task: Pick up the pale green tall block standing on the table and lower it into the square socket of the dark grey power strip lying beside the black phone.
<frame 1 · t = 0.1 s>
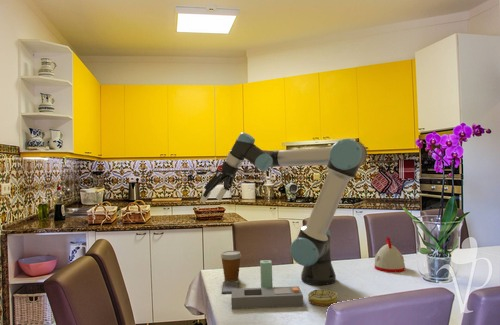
hand: (210, 200, 171), 36 cm above the table, tool tilted 35°, fingers open, 13 cm apart
disposable coffee cup: (231, 279, 165), on the table
kitchen timer: (389, 269, 175), on the table
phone: (230, 289, 152), on the table
pale green tall block: (266, 290, 148), on the table
yellow flat round piece: (322, 302, 134), on the table
power strip: (266, 302, 135), on the table
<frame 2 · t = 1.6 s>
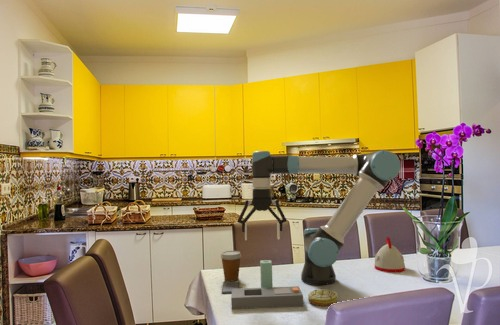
hand: (262, 239, 149), 21 cm above the table, tool pointing down, fingers open, 13 cm apart
nothing on the table moved.
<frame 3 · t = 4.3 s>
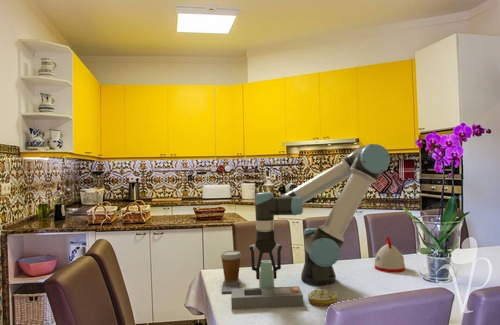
hand: (266, 286, 148), 2 cm above the table, tool pointing down, fingers closed on pale green tall block, 4 cm apart
pale green tall block: (266, 290, 148), on the table, touching gripper
everything else where it was.
when the fingers open (5 cm above the table, at t = 8.6 s): pale green tall block drops 3 cm, resting in power strip.
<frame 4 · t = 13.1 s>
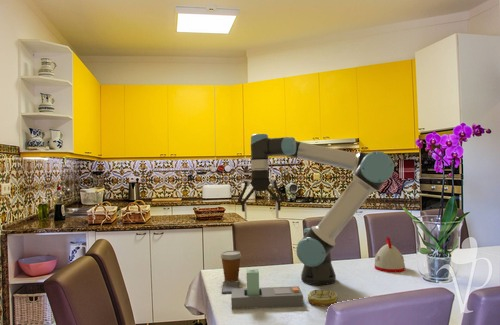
hand: (261, 218, 155), 29 cm above the table, tool pointing down, fingers open, 13 cm apart
pale green tall block: (253, 303, 135), resting in power strip
everything else where it was.
at the end: pale green tall block 0.1 cm from the target spot on the power strip, point 0.0 cm above the power strip's base; pale green tall block tilted 0°; the gripper is holding nothing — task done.
